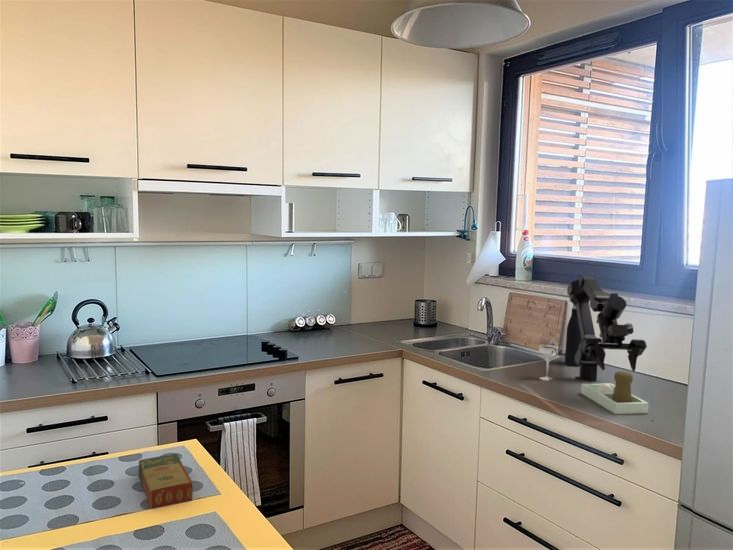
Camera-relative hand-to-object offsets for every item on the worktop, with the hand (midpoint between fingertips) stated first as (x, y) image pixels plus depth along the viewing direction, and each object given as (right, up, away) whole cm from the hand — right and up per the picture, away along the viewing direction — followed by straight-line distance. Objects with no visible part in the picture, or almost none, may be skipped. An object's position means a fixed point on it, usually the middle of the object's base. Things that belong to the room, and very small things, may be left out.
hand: (618, 370), depth 184 cm
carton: (-120, -15, -60) cm, 135 cm away
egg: (-2, -10, +6) cm, 12 cm away
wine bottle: (+4, -6, +51) cm, 52 cm away
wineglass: (-13, -8, +29) cm, 33 cm away
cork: (0, -11, -3) cm, 11 cm away
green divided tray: (-1, -11, +2) cm, 11 cm away
